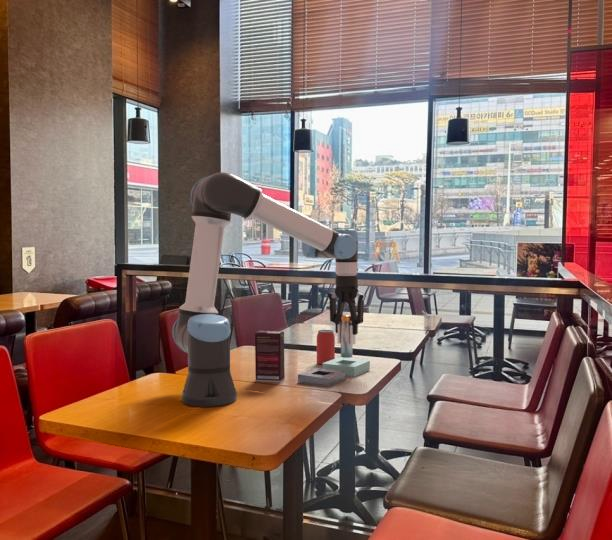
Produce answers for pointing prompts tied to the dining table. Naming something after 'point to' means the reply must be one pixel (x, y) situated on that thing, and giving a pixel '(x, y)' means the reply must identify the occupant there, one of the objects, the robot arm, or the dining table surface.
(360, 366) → the socket block
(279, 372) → the supplement box
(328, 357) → the beer can
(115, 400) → the dining table surface
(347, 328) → the pin
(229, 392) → the robot arm
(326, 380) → the mount
